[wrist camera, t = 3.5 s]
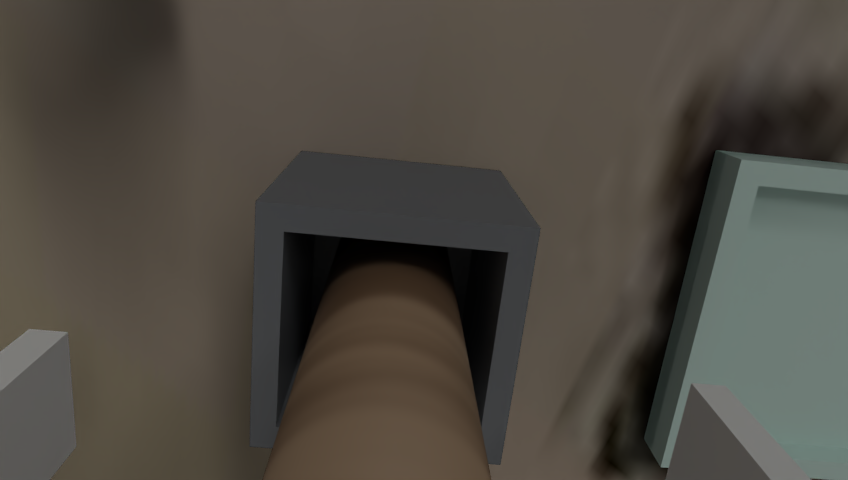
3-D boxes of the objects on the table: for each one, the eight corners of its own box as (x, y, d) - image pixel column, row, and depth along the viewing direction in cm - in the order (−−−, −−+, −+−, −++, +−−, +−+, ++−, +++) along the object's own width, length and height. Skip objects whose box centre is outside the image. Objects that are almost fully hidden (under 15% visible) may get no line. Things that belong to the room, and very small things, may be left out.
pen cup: (301, 151, 22) (256, 201, 15) (500, 170, 22) (540, 228, 16) (292, 332, 24) (249, 446, 17) (474, 347, 24) (500, 464, 18)
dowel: (340, 201, 22) (188, 581, 7) (454, 212, 22) (561, 603, 7) (333, 306, 23) (190, 833, 8) (441, 315, 23) (508, 845, 8)
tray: (715, 150, 22) (741, 159, 21) (1034, 183, 23) (1084, 194, 21) (643, 438, 26) (660, 467, 24) (920, 459, 27) (955, 488, 25)
